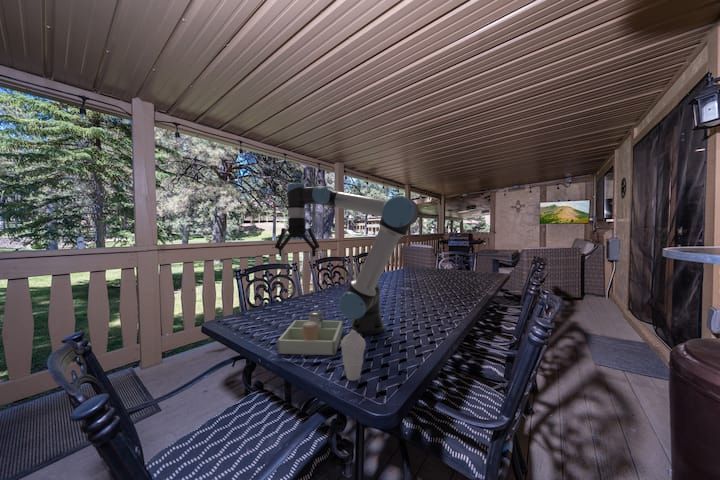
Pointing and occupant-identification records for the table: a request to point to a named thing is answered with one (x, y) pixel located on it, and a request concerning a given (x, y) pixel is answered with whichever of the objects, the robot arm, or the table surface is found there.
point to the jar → (310, 331)
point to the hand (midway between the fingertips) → (297, 263)
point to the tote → (323, 346)
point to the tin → (316, 318)
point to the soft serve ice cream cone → (353, 354)
